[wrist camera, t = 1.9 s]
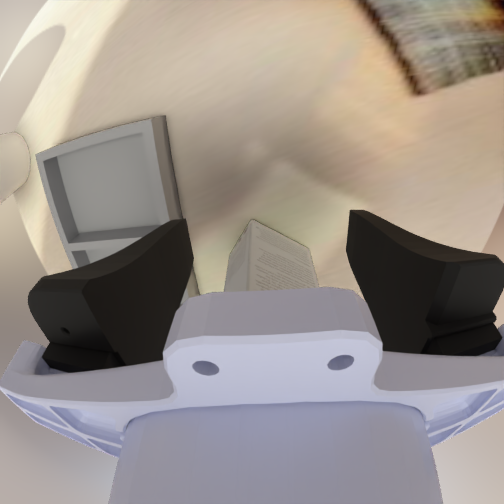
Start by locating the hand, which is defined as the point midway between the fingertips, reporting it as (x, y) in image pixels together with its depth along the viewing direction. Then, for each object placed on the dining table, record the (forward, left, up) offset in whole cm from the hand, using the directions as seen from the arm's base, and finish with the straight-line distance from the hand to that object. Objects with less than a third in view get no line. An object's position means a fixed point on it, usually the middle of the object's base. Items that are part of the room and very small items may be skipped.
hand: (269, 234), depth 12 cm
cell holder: (-8, +13, -10) cm, 19 cm away
